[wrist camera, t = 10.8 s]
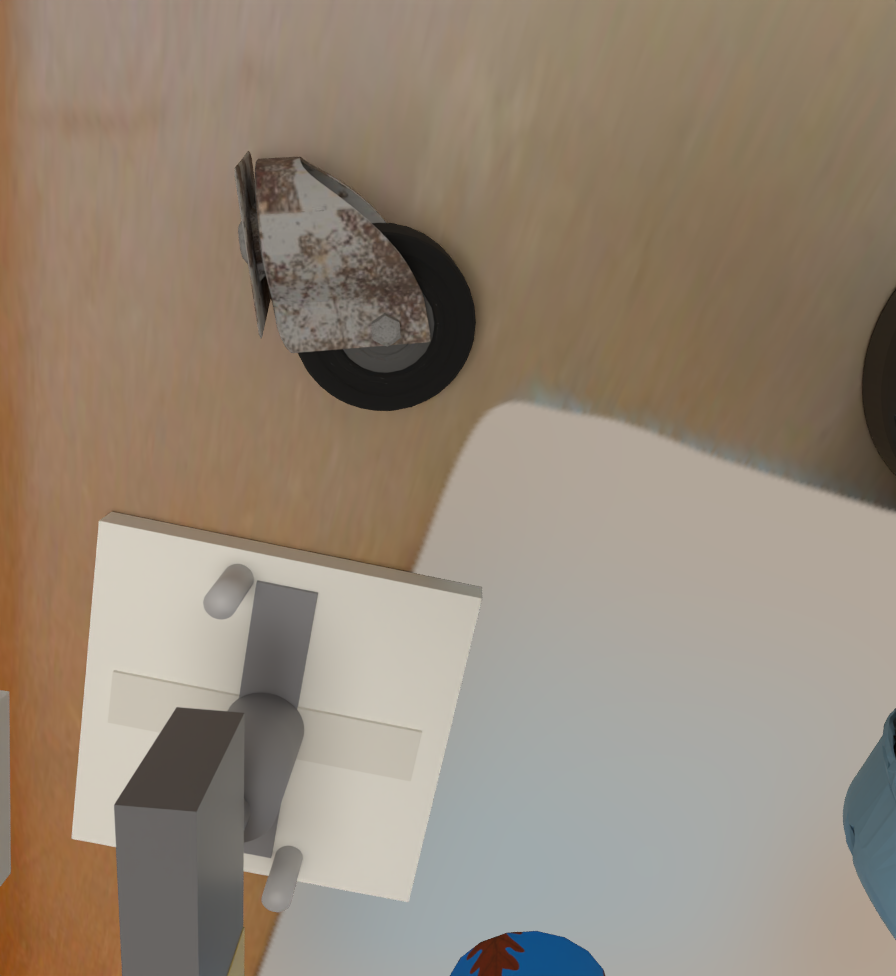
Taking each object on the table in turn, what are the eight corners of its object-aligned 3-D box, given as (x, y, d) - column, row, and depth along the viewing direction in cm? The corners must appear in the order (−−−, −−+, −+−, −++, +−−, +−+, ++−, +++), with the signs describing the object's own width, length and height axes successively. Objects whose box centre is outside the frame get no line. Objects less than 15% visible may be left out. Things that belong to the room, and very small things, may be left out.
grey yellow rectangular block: (196, 674, 35) (111, 805, 27) (261, 680, 35) (197, 812, 27) (199, 928, 39) (126, 1110, 31) (258, 933, 39) (201, 1117, 31)
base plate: (481, 586, 43) (484, 660, 35) (410, 882, 48) (399, 1002, 41) (111, 511, 42) (31, 569, 34) (83, 820, 48) (9, 930, 40)
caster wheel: (462, 371, 42) (271, 386, 41) (457, 139, 36) (236, 150, 35) (485, 422, 36) (262, 441, 35) (482, 155, 31) (218, 168, 30)
